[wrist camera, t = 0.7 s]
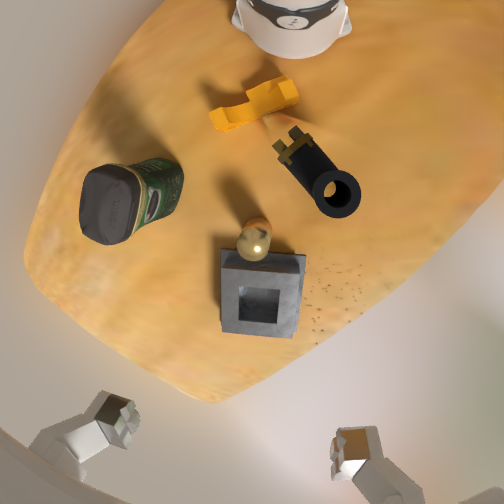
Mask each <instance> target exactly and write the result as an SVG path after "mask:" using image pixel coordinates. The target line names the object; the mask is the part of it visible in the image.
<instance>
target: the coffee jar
mask: <svg viewBox="0 0 504 504" xmlns="http://www.w3.org/2000/svg"><path fill="white" fill-rule="evenodd" d="M183 181H184V174H183V171H182V169H181V167H180V166H179V165H178V164H176V163H174V162H172V161H169V160H166V159H162V158H154V159H149V160H146V161H143V162H140V163H137V164H133V165H130V166H124V165H121V164H113V163H110V164H105V165H102V166H100V167H97V168H95V169H92V170H91V171H89V172H88V174H87V175H86V177H85V179H84V182H83V187H82V192H81V199H80V208H79V222H80V227H81V229H82V233H83V234H84V235H85V236H87V237H88V238H90V239H92V240H94V241H96V242H98V243H100V244H103V245H114V244H118V243H120V242H123V241H126V240H127V239H129V238H130V237H131V236H132V235H133V234H134V233H135V232H136V231H137V230H138V229H139V228H141V227H142V226H144V225H146V224H148V223H151V222H153V221H155V220H158V219H161V218H164V217H166V216H168V215H170V214H171V213H172V212H173V211H174V210H175V208H176V206H177V203H178V201H179V198H180V195H181V191H182V187H183Z"/></svg>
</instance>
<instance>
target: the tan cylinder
mask: <svg viewBox="0 0 504 504" xmlns="http://www.w3.org/2000/svg"><path fill="white" fill-rule="evenodd" d="M271 235H272V227H271V224H270V223H269V222H268V221H267V220H266V219H264V218H262V217H255V218H252V219H250V220H249V221H248V222H247V224H246V226H245V227H244V229H243V231H242V233H241V234H240V236H239V238H238V240H237V250H238V253H239V254H240V255H241V256H242V257H243V258H244V259H246V260H248V261H259V260H261V259H263V258H264V257H265V256H266V255H267V253H268V251H269V246H270V241H271Z"/></svg>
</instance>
